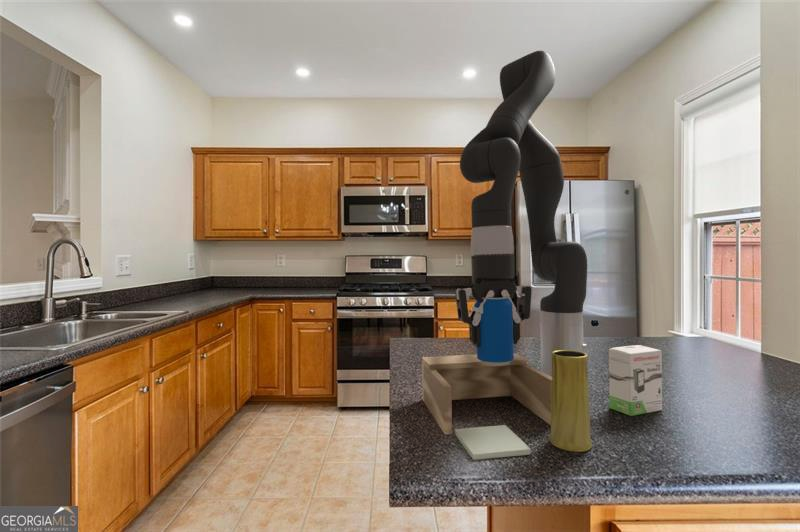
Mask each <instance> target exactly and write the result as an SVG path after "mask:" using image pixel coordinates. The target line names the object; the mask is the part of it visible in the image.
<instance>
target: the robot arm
mask: <svg viewBox="0 0 800 532" xmlns="http://www.w3.org/2000/svg"><path fill="white" fill-rule="evenodd" d="M555 82H556V69H555V66H554V62H553V60H552V57H551V55H550V54H548V52H546V51H544V50H536V51H533V52H531V53H528V54H526V55H524V56H521V57H520V58H518V59H515V60H513V61H512V62H509V63H507V64H505V65H504V66H503V67H502V68H501V70H500V72H499V85H500V90H501V91H500V92H501V95H502V99H503V101H501V103H499V105H498V106H497V107H496V109H495V110H494V111H493V113H492V114H491V116H490V117H489V119H488V121H487V124H486V126H485V127H484V128H483V129H481V130H480V131H479V132H478V133H477V134H476V135H475V136H473V138H472V139H471V140H470V141H469V142H468V143H467V144H466V145H465V147H464V148H463V150H462V153H461V155H460V159H459V160H460V161H459V169H460V172H461V175H462V177H463V178H464V179H465V180H466V181H468V182H470V183H472V184H481V183H486V182H492V181H493V184H492V185H491V188H490V189H489V190H487V191H486V192H483V193H481V194H479V195H477V196H474V198H473V199H472V201H471V206H470V207H471V212H470V213H471V235H470V236H471V238H470V254H471V255H470V258H471V262H470V263H471V284H470V287H467V288H456V289H455V291H454V295H455V301H456V302H455V304H456V309H457V310H456V311H457V312H456V313H457V317H458V319H457V320H458V321H460V322H462V323H464V324H467V325H468V330H469V331H468V332H469V335H468V336H469V339H468V340H469V342H470V343H471V344H472V345H473V346H474V347H475V348H477V347H480V345H481V344H480V326H478V324H479V322H480V320H481V314H483V304H484V303H485V301H486V298H504V297H509V300H510V301H511V302H512V311H513V345H516V344H518V341H520V338H521V322H522V321H524V320H528V319H530V317H531V304H532V291H533V290H532V287H531V286H529V285H519V286H518V285H516V283H515V245H514V234H513V228H512V225H513V224H512V201H513V198H514V197H513V196H514V190H515V186H516V182H517V178H518V176H519V178H520V184H521V188H522V194H523V198H524V203H525V209H526V210H525V211H526V215H527V223H528V231H529V243H530V254H531V255H530V256H531V264H532V268H533V270H534V272H535V274H536V276H537V277H538V278H539V279H540V280H543V281H547V282H548V281H549V282H555V284H554V288H553V291H552V292H551V293H550V294H548V295H546V296H544V297H542V298H541V299H540V301H539V302H540V303H539V307H540V308H539V309H540V311H539V312H540V316H539V317H540V371H541V372H543V373H545V374H547V375H549V376H551V377H552V352H553V351H556V350H573V351H579V352H584V353H586V354H587V355H588V345H587V344H586V343H584V303H585V301H586V296H587V284H588V283H587V282H588V258H587V252H586V250H585V249H584V247H583V246H582V245H581V244H580V243H578V242H576V241H558V240H557V236H556V235H557V234H556V228H555V220H556V219H555V217H556V213H557V210H558V207H559V203H560V201H561V197H562V195H563V193H564V187H565V177H564V172H563V165H562V160H561V155H560V153H559V152H558V150H557V148H556V147H555V145H554V144H552V142H551V141H549V140H548V139H547V138H546V137H545V136H544V135H543V134H542V133H541V132H540V131H539V130H538V129H537V128H536V126H535V125H534V124H533V122H532V120H531V118H532V116H533V115H534V113H535V112H536V111H537V109H538V108H539V107H540V106H541V105H542V103H543V102H544V101H545V99H546V98H547V96H549V94H550V93H551V91H552V90H553V88H554V86H555ZM518 174H519V175H518ZM515 294H516V297H517V298H518V300H517V302H518V303H517V304H518V305H517V307H516V306H515V304H514V302H513V300H512V299H513V297H514V296H515ZM470 295H471V296H472V297H473V298H474V300H475V301H474V303H473V306H471V307H472V308H471V312H470V313H469V308H468V301H469V300H470ZM482 298H484V299H482ZM477 301H479V302H481V305H480V307H479V308H477V307H476V302H477ZM587 369H588V367H587Z"/></svg>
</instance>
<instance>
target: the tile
mask: <svg viewBox="0 0 800 532" xmlns="http://www.w3.org/2000/svg"><path fill="white" fill-rule="evenodd" d="M454 434H455V437H457V439H458V440H459V442H460V443H461V445H462V446H463V448H464V450H465V451H466V452H467V453H468V456H470V458H472V460H473V461H477V460H487V459H496V458H498V459H499V458H506V457H517V456H519V457H520V456H528V455H531V454H532V448H530V447H529V446H528V445H527V444H526V443H525V442H524V441H523V440H522V439H521V438H520V437H519V436H518V435H516V433H514V431H512V430H511V429H510V428H509V427H508V426H507V425H506V424H502V425H501V424H500V425H487V426H478V427H477V426H476V427H464V428H454Z"/></svg>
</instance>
